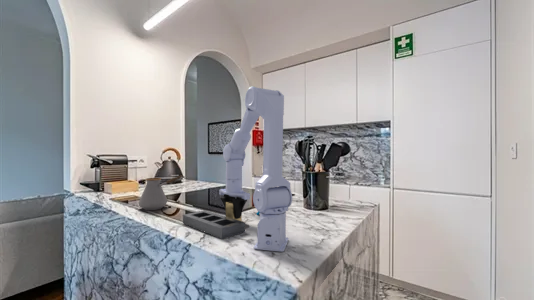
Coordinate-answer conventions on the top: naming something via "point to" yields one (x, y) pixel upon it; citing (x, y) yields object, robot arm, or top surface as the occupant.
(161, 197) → the coffee pot
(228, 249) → the top surface
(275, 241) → the robot arm
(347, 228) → the top surface
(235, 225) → the grey compartment tray
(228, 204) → the tan rectangular block
